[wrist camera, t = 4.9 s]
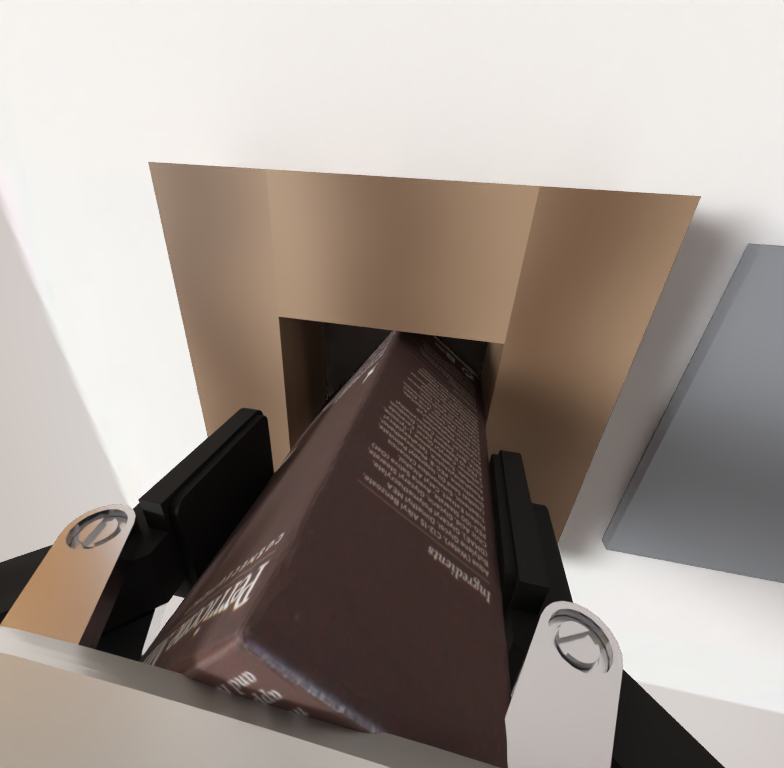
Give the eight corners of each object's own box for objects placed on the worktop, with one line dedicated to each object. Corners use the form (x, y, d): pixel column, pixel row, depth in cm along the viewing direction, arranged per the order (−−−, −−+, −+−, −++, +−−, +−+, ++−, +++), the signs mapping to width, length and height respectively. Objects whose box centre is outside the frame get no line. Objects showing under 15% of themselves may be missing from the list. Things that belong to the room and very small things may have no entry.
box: (404, 304, 14) (227, 647, 3) (483, 378, 15) (562, 845, 4) (317, 397, 16) (61, 756, 6) (389, 456, 17) (284, 861, 7)
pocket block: (627, 200, 11) (701, 196, 8) (516, 537, 19) (528, 613, 15) (232, 174, 13) (148, 162, 10) (271, 490, 21) (232, 548, 17)
